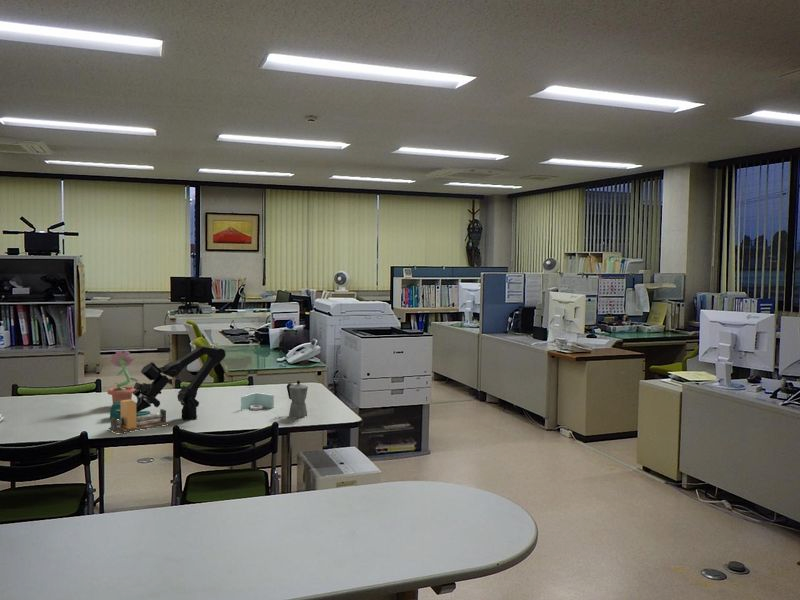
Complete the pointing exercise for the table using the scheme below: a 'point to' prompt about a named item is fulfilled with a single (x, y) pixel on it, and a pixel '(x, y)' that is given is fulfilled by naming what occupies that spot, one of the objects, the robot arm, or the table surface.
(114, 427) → the pipe board
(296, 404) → the coffeepot
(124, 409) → the orange tan block
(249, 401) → the l-shaped corner panel
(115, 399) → the decorative flower
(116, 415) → the bracket
